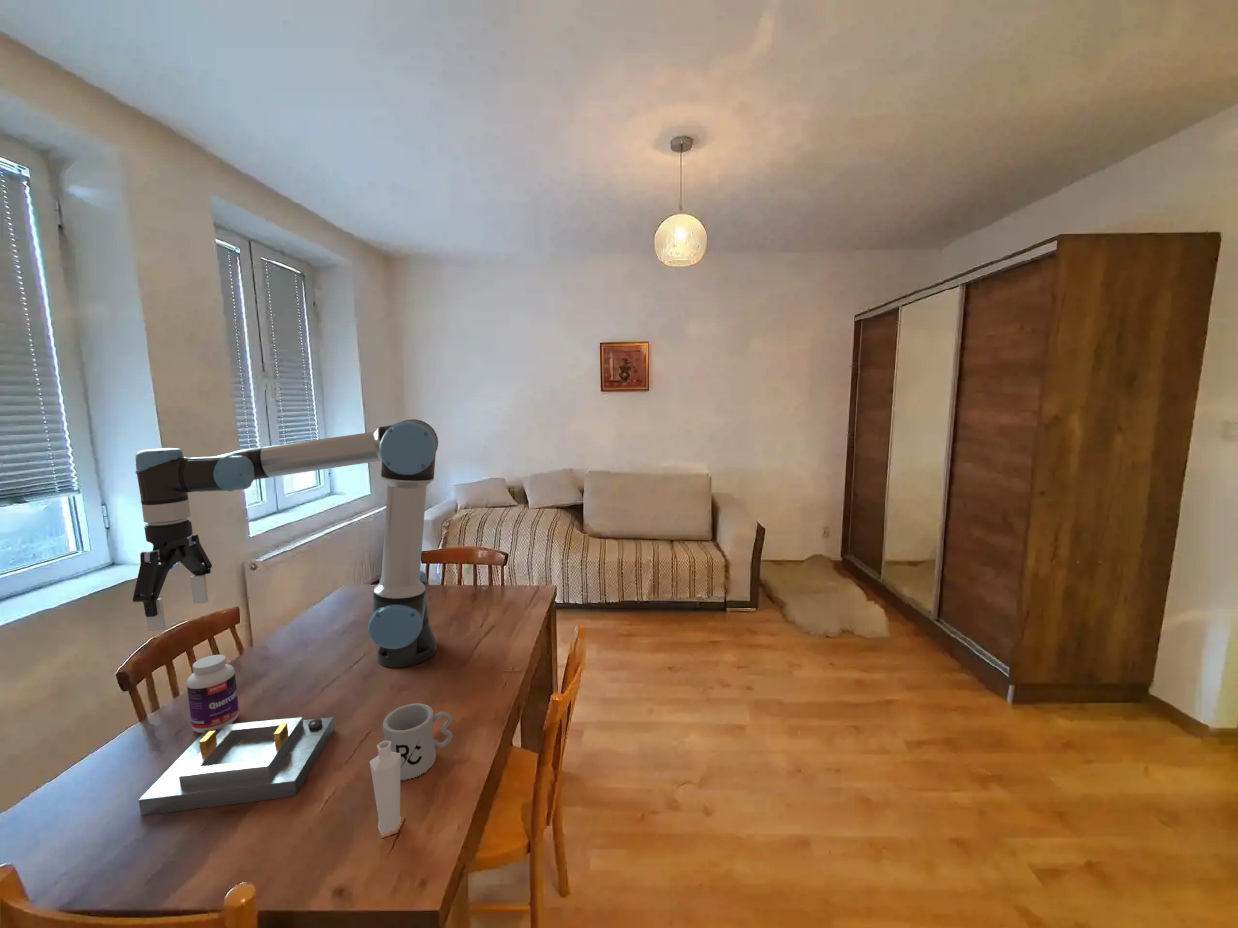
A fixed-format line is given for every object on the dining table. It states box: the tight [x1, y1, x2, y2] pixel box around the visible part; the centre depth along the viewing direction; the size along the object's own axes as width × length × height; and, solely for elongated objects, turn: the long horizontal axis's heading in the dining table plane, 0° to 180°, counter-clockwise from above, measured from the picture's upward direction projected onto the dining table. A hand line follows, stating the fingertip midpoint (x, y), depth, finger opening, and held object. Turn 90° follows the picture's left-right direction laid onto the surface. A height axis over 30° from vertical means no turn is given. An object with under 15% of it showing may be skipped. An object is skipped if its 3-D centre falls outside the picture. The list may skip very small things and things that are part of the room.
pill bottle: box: [186, 654, 240, 734], centre depth 109 cm, size 8×8×14 cm
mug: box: [382, 703, 454, 781], centre depth 97 cm, size 12×9×10 cm
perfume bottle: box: [369, 740, 403, 835], centre depth 82 cm, size 5×4×15 cm
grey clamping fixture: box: [138, 716, 335, 816], centre depth 96 cm, size 24×18×8 cm
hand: (180, 615), depth 111 cm, fingers open, 13 cm apart
